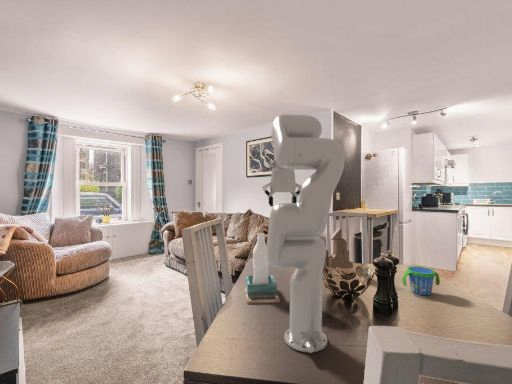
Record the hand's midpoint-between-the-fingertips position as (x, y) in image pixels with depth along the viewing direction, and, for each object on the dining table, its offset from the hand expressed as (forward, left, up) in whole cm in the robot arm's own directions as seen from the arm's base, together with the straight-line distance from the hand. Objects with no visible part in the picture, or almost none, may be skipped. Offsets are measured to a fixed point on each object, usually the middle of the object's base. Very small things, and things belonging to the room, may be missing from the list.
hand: (282, 206), depth 113 cm
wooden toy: (+26, -35, -38) cm, 58 cm away
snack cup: (-3, -61, -38) cm, 72 cm away
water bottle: (+3, +9, -37) cm, 38 cm away
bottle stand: (+1, +9, -38) cm, 39 cm away
